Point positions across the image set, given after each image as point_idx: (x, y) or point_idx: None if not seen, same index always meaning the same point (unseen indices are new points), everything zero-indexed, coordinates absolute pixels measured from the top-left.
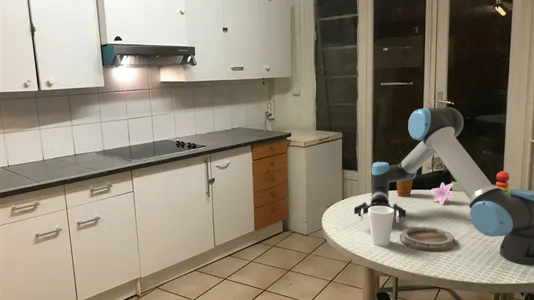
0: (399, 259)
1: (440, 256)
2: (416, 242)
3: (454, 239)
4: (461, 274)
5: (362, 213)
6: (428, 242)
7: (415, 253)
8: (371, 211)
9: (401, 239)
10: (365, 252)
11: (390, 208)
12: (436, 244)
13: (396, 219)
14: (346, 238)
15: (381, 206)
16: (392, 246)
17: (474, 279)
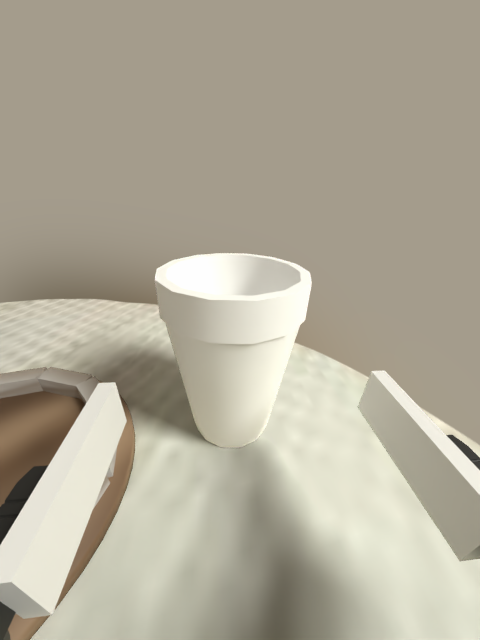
0: None
1: (48, 359)
2: (89, 376)
3: None
4: (68, 309)
5: (379, 378)
6: (38, 376)
7: (120, 362)
8: (277, 258)
9: (131, 432)
10: None
11: (172, 282)
12: (13, 374)
13: (101, 479)
14: None
15: (237, 295)
16: (185, 391)
17: (56, 302)
